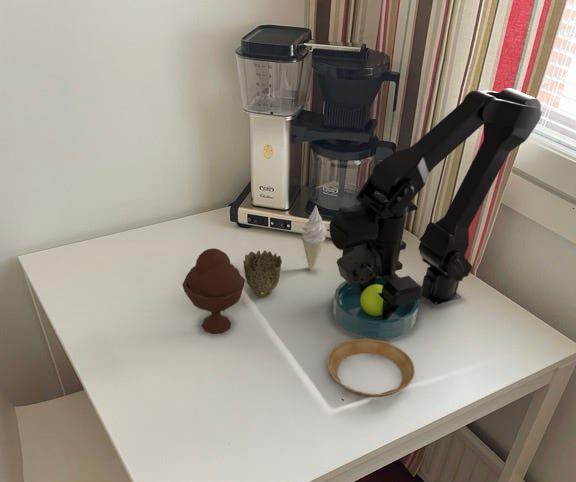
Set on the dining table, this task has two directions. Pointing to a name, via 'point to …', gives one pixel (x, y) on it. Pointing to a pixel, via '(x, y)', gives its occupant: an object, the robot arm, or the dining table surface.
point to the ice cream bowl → (214, 288)
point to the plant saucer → (378, 349)
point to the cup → (262, 272)
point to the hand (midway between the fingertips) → (374, 308)
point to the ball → (372, 300)
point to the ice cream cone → (313, 237)
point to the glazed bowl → (365, 324)
